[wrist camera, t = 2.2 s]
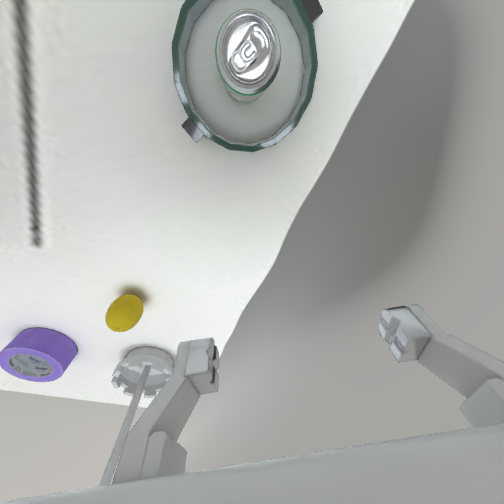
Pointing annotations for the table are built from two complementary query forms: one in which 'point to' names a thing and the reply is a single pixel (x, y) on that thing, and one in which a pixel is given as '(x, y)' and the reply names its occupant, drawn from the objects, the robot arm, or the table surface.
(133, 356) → the flag stand
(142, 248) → the table surface
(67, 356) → the tape roll
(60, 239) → the table surface
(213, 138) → the dark green tabbed ring
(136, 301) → the lemon
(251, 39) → the soda can
